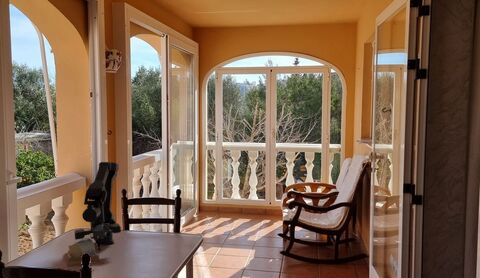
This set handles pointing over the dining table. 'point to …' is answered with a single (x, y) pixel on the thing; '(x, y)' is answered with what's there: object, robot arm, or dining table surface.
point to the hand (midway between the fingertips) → (99, 250)
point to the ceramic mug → (82, 248)
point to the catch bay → (78, 260)
